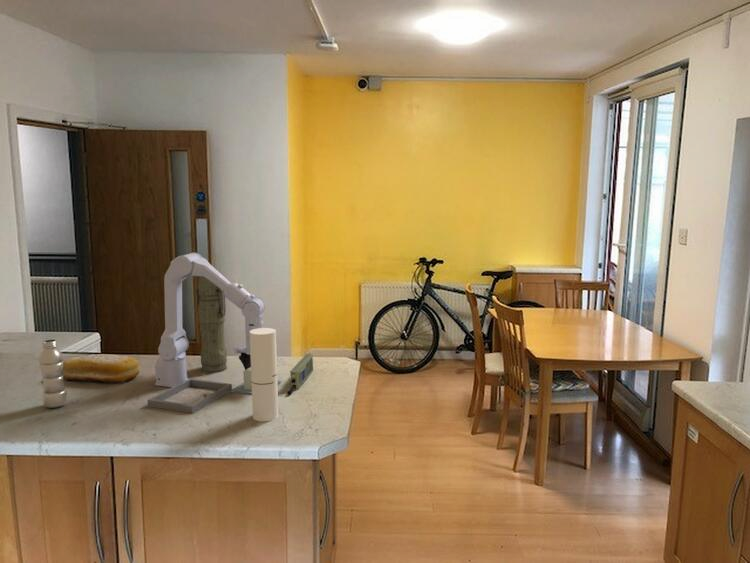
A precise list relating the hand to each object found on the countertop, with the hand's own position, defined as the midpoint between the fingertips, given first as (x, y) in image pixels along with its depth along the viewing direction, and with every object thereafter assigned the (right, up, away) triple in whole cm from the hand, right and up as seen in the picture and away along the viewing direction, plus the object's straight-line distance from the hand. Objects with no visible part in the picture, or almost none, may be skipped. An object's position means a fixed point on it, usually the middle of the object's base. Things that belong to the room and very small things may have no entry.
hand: (256, 376), depth 184 cm
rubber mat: (0, -4, +1) cm, 4 cm away
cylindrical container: (+7, -8, -23) cm, 25 cm away
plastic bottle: (-57, -7, -15) cm, 59 cm away
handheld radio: (+14, -3, +5) cm, 15 cm away
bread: (-55, -3, +10) cm, 56 cm away
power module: (0, -3, 0) cm, 3 cm away
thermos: (-19, -1, +19) cm, 27 cm away
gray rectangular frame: (-18, -5, -9) cm, 21 cm away
